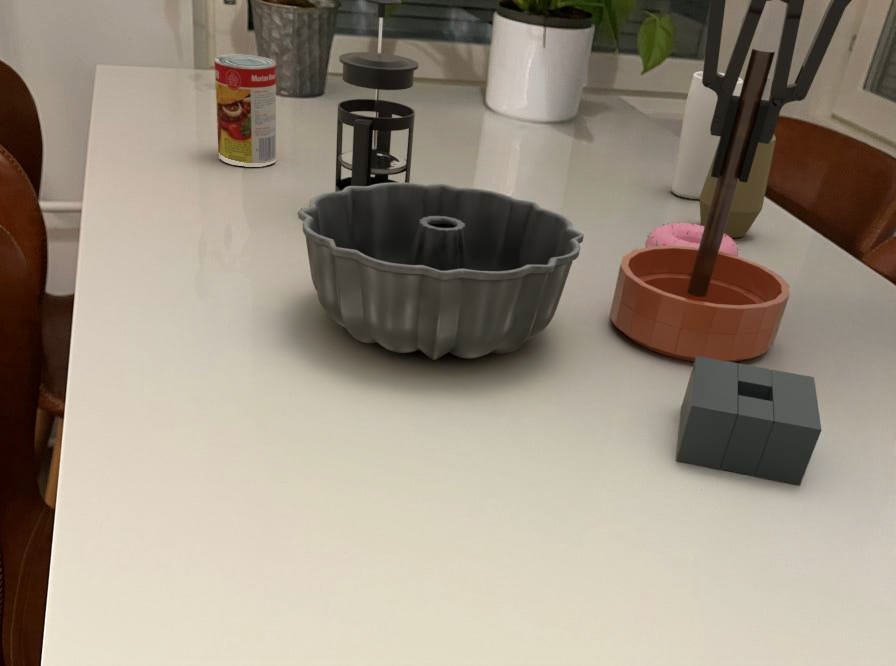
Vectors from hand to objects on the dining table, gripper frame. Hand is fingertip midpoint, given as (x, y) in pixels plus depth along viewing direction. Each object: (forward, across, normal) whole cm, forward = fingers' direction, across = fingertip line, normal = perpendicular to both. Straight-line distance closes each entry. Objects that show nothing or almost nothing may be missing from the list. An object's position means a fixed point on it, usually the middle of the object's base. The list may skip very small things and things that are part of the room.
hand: (729, 175), depth 94 cm
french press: (+15, -40, +16) cm, 45 cm away
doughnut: (+15, -1, +17) cm, 23 cm away
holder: (+15, +5, -26) cm, 30 cm away
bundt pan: (+15, -25, -13) cm, 32 cm away
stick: (+11, 0, 0) cm, 11 cm away
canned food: (+15, -62, +31) cm, 71 cm away
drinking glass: (+15, -2, +49) cm, 51 cm away
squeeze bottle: (+15, +3, +34) cm, 37 cm away
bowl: (+15, 0, -3) cm, 15 cm away
